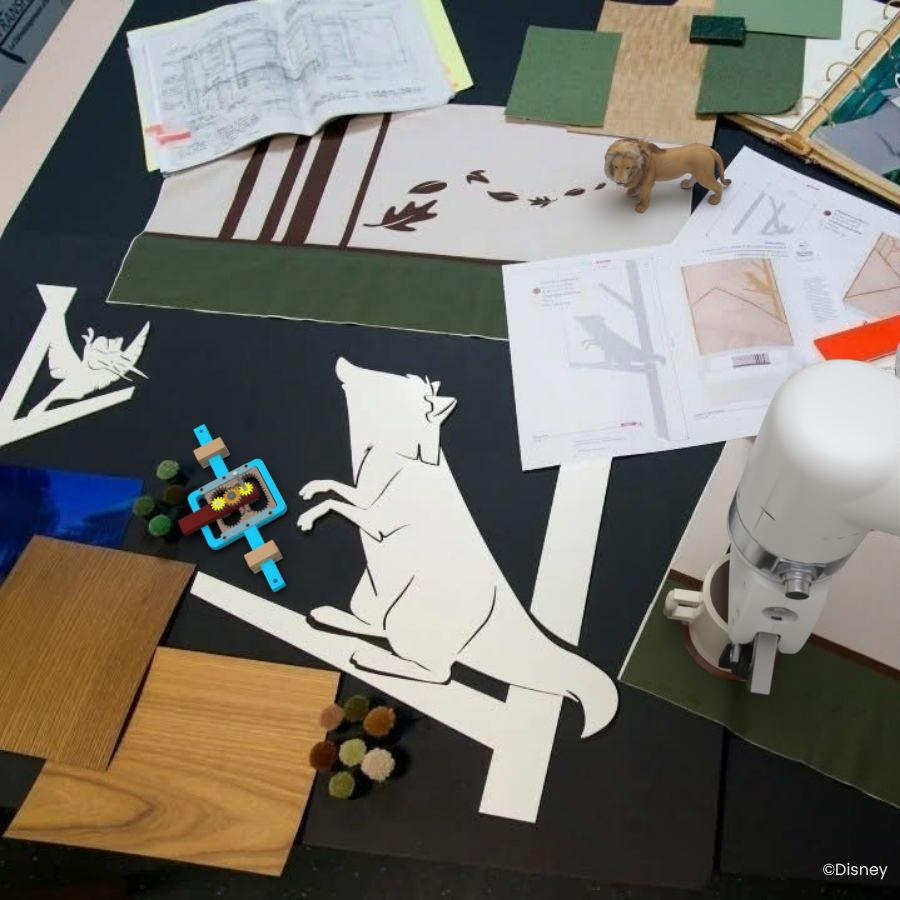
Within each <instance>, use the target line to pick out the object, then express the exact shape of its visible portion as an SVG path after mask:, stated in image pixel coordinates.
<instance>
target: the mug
mask: <svg viewBox="0 0 900 900" xmlns="http://www.w3.org/2000/svg"><path fill="white" fill-rule="evenodd" d="M729 567H730V553H728V554H726V553H725V554H724V555H722V556H720V557H719V558H717V559H716V560H715V561H714V562H713V563H712V564H711V565H710V566H709V568H708V570H707V572H706V573H705V576H704V578H703V580H702V583H701V586H700V588H699V590H698V591H697V590H690V589H683V588H673V589H672V590H669V591H668V593H667V595H666V599H665V602H664V605H663V608H662V613H663V615H664V616H665V617H666V619H670V620H676V621H677V620H678V621H682V622H685V621H686V622H689V624H688V625H689V627H688V630H689V632H688V634H690V635H689V636H690V637H689V638H690V639H691V640H692V641H691V640H690V641H691V643H692V645H693V647H694V649H695V651H696V652H698V655H700V657H702V658H704V659H705V661H707V663H708V662H709V664H711V665H713V667H717V668H719V669H721V670H722V671H723V670H724V671H725V673H726V672H730V673H731V669H725V668H720V667H718V660H719V658H720V656H721V654H722V652H723V650H724V649H725V647H726V645H727V644H729V643H732V641H731V640H730V638H729V635H728V606H729ZM682 605H687V607H686V606H682ZM692 605H693V606H692ZM689 606H690V607H689ZM691 606H692V607H693V608H691ZM743 645H749V646H754V642H753V641H751V642H748V643H745V644H743ZM779 651H780V650H779V649H778V647H777V648H776V653H775V656H776V654H777V653H778V654H779ZM778 654H777V655H778ZM704 659H703V660H704ZM721 670H720V671H721Z"/></svg>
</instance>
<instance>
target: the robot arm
mask: <svg viewBox="0 0 900 900" xmlns="http://www.w3.org/2000/svg"><path fill="white" fill-rule="evenodd" d="M895 353H896V354H895V360H894V362H895V363H894V366H895V367H894V368H895V374H894V373H892V372H890V371H888V370H887V369H884V368H883V367H881V366H878V365H876V364H873V363H870V362H867V361H861V360H855V359H846V358H845V359H843V358H842V359H839V358H838V359H829V360H821V361H818V362H815V363H812V364H809V365H806V366H805V367H803V368H801V369H799V370H797V371H796V372H794V373H793V374H792V375H790V376H788V377H787V379H786V380H785V381H784V382H783V383H782V384H781V385H780V386H779V387H778V389H777V390H776V391H775V393H774V395H773V397H772V399H771V401H770V403H769V405H768V407H767V410H766V412H765V415H764V417H763V420H762V422H761V425H760V427H759V431H758V433H757V435H756V438H755V441H754V443H753V446H752V448H751V451H750V453H749V456H748V459H747V460H746V464H745V467H744V469H743V471H742V474H741V476H740V479H739V482H738V484H737V486H736V489H735V492H734V494H733V496H732V499H731V502H730V505H729V508H728V510H727V516H726V530H727V535H728V539H729V541H730V543H729V545H728V548H727V550H726V552H725V555H726V554H728V553H730V567H729V606H728V635H729V638H730V640H731V641H732V643H729V644H727V645H726V647H725V649H724V650H723V652H722V654H721V656H720V658H719V660H718V667H720V668H725V669H731V672H730V673H731V674H732V675H734V677H735V676H737V677H738V676H739V678H740V679H741V681H742V680H747V681H745V685H746V687H747V691H748V693H749V694H752V695H760V696H765V697H769V696H770V692H771V686H772V679H773V674H774V673H773V672H774V669H773V667H774V664H775V661H776V660H775V659H776V655H775V653H776V648H777V647H778V649H779V651H780V652H781V653H783V654H791V655H792V654H793V655H794V654H796V653H798V652H799V651H801V649H803V647H804V645H805V644H806V642H807V641H808V639H809V638H810V636H811V634H812V633H813V631H814V629H815V628H816V626H817V623H818V621H819V620H820V617H821V615H822V613H823V610H824V608H825V605H826V602H827V600H828V596H829V593H830V589H831V585H832V584H831V583H832V579H833V577H834V576H835V575H837V574H838V573H839V572H840V571H841V570H842V569H843V568H844V567H845V565H847V563H848V561H850V559H851V557H852V556H853V554H855V552H856V550H857V549H858V548H859V547H860V545H861V544H862V543H863V541H864V540H865V538H866V537H868V535H869V533H870V532H871V531H876V532H880V533H882V534H883V533H884V534H888V535H891V536H895V537H899V538H900V341H899V342H898V344H897V348H896V352H895ZM751 641H753V642H754V646H749V645H743V644H745V643H748V642H751ZM780 652H779V653H780ZM781 653H780V654H781ZM774 660H775V661H774ZM732 675H731V676H732Z"/></svg>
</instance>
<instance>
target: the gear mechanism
mask: <svg viewBox="0 0 900 900" xmlns="http://www.w3.org/2000/svg"><path fill="white" fill-rule="evenodd" d="M193 432H194V434H195V436H196V438H197V440H198V442H199V444H200V446H199V447H198V448H195V449H194V450H192V451H193V454H194V455H195V458H196V460H197V462H198V463H199V464H200V466H201V467H202V469H206V468H208V467H211V468H212V471H213V473H214V475H215V477H216V478H215V479H214V480H212V481H210V482H208V483H207V484H205V485H203V486H201V487H199V488H198V489H197V490H194V491H192V492H191V493H190V494H188V496H187V502H188V504H189V506H190V508H191V510H192V512H191V513H190V514H188V515H186V516H184V517H182V518H181V519H179V520H177V522H178V525H179V527H180V529H181V532H182V534H183V535H184V536H185V537H188V536H189V535H191V534H193V533H195V532H197V531H199V530H200V531H201V532H202V534H203V536H204V538H205V540H206V542H207V545H208V546H209V547H210V549H212V550H213V551H219V550H220V549H223V548H224V547H226V546H229V545H230V544H231V543H232V544H233V543H234V542H236V541H238V540H239V539H242V538H243V537H245V538H246V540H247V542H248V544H249V546H250V548H251V551H249V552H247V553H246V554H244V555H243V557H244V559H245V561H246V563H247V566H248V568H249V569H250V570H251V571H252V572H253V574H257V573H259V572H260V571H262V572H263V574H264V576H265V579H266V581H267V582H268V583H267V584H268V585H269V586H270V589H271V591H272V592H273V593H276V592H278V591H280V590H282V589H283V588H285V587H287V584H286V582H285V581H284V578H283V576H282V575H281V572H280V570H279V569H278V567H277V564H276V562H279V561H280V560H283V559H284V557H283V555H282V553H281V551H280V549H279V546H277V544H276V543H275V541H274V540H273V539H270V540H269V541H267V542H265V541H264V539H263V537H262V535H261V533H260V531H259V529H260V528H261V527H263V526H265V525H267V524H269V523H271V522H272V521H274V520H276V519H277V518H279V517H281V516H283V515H284V514H286V512H287V510H288V506H287V504H286V502H285V500H284V497H282V494H281V493H280V491H279V489H278V487H277V485H276V483H275V481H274V479H273V478H272V476H271V474H270V472H269V470H268V468H267V467H266V464H265V463H264V461H263V460H262V459H260V458H255V459H253V460H250V461H249V462H247V463H244V464H243V465H241V466H239V467H237V468H235V469H233V470H231V471H229V469H228V467H227V466H226V463H225V462H224V458H227V457H229V456H230V455H231V453H230V452H229V450H228V448H227V445H226V444H225V443H224V441H223V439H222V438H221V436H219V437H217V438H215V439H213V437H212V435H211V433H210V431H209V429H208V427H207V425H206V424H204V423H203V424H201V425H199V426H197V427H196V428H193ZM248 478H249V479H251V478H254V479H256V480H257V482H258V483H259V485H260V487H261V489H262V491H263V492H264V494H265V497H266V499H267V505H266V507H264V508H263V509H261V510H258V511H257V510H252V508H251V506H250V504H251V505H254V503H255V504H256V503H257V501H259V497H260V492H259V490H258V488H257V487H256V485H255V483H254V482H253V481H250V482H245V480H247V479H248ZM221 493H225V494H223V495H222V496H220V497H219V494H221ZM201 499H204V500H206V503H207V504H206V505H205V506H203V507H201V505H200V503H199V501H200V500H201ZM236 510H238V511H239V513H240V519H238V520H239V521H238V522H237V523H236V524H234V525H227V524H225V522H224V520H226V519H227V518H230V516H231V515H232V513H233V512H234V511H236ZM223 519H224V520H223ZM213 522H216V523H217V525H218V527H219V529H220V531H221V534H220V537H219V538H216V537H215V536H214V533H213V531H212V529H211V527H210V524H212V523H213Z"/></svg>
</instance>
